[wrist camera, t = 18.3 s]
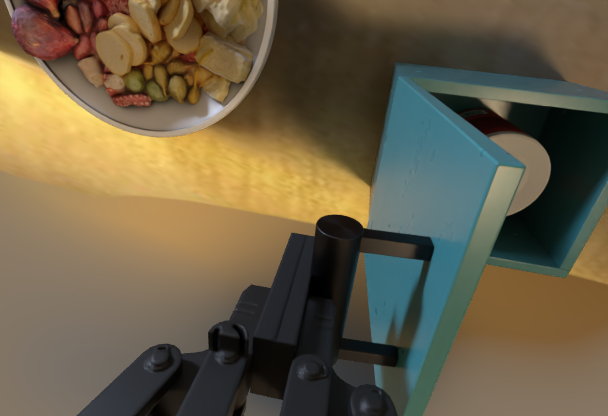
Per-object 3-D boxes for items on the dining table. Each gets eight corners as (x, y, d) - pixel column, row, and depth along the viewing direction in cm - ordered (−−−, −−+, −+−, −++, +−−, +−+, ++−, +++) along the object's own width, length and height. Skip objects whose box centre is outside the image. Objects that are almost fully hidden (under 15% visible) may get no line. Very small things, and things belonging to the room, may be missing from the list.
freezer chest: (567, 81, 35) (663, 106, 23) (512, 209, 42) (566, 278, 30) (394, 61, 37) (403, 75, 25) (370, 186, 44) (367, 243, 32)
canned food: (416, 151, 40) (428, 189, 30) (466, 91, 36) (499, 112, 27) (468, 187, 41) (496, 235, 31) (523, 132, 37) (574, 167, 27)
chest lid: (528, 165, 9) (325, 141, 9) (400, 471, 16) (287, 452, 16) (409, 77, 25) (337, 69, 25) (371, 246, 32) (315, 239, 32)
